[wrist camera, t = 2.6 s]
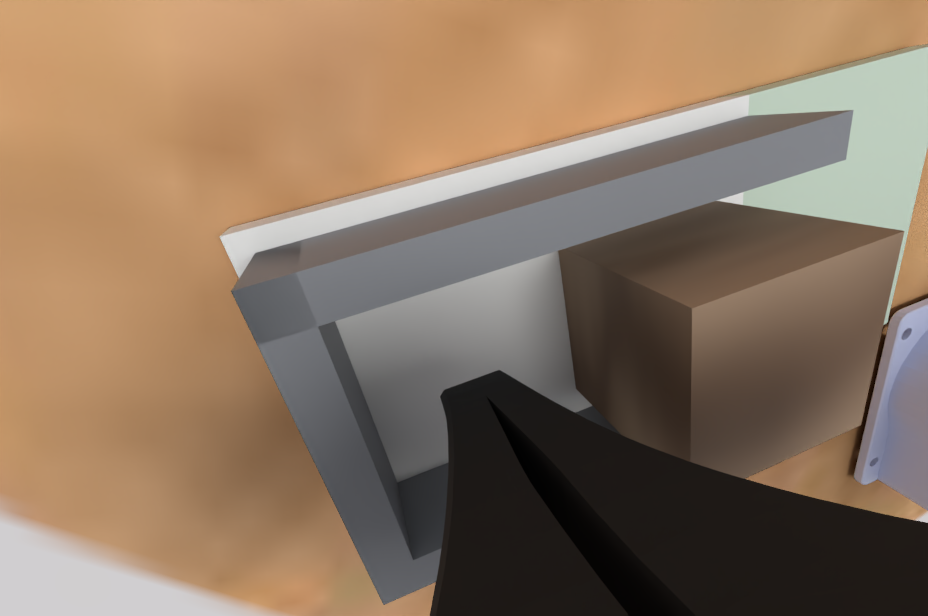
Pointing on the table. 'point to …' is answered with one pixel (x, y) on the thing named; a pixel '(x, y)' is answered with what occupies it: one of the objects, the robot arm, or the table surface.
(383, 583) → the bay board
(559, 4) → the table surface
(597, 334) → the walnut cube
